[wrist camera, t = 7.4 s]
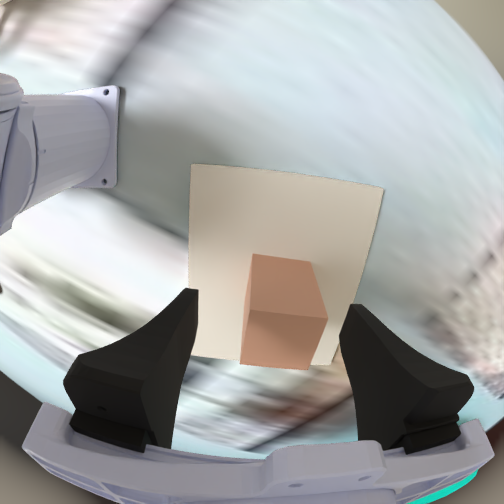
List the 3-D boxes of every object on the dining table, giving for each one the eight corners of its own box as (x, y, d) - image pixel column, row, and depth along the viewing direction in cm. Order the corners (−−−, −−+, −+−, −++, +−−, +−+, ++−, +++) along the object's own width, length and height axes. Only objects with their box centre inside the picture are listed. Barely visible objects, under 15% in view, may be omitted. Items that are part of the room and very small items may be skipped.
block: (244, 301, 24) (239, 363, 17) (252, 253, 22) (249, 309, 15) (297, 308, 24) (307, 370, 18) (310, 261, 22) (328, 318, 16)
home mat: (192, 350, 27) (191, 355, 27) (192, 163, 20) (190, 164, 19) (328, 360, 28) (329, 365, 27) (380, 187, 20) (383, 189, 19)
